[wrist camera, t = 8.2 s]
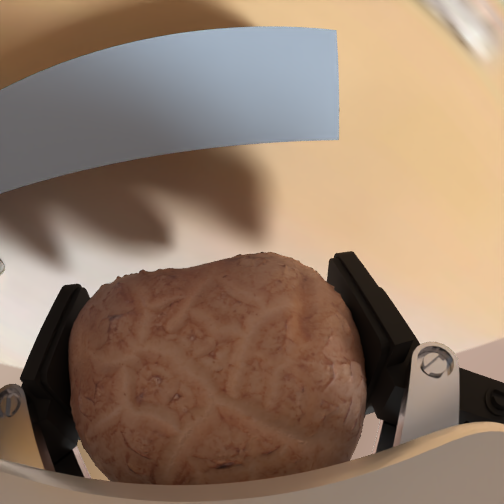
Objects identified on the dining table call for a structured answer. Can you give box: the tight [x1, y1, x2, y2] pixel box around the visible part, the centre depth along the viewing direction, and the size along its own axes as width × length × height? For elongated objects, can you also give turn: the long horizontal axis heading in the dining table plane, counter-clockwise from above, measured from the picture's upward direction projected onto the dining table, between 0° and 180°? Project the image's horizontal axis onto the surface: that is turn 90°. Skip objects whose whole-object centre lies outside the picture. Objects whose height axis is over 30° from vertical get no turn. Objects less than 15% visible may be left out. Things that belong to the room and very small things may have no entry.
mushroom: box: [68, 252, 367, 485], centre depth 8 cm, size 8×6×8 cm
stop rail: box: [0, 27, 339, 194], centre depth 7 cm, size 13×2×4 cm, turn 93°
